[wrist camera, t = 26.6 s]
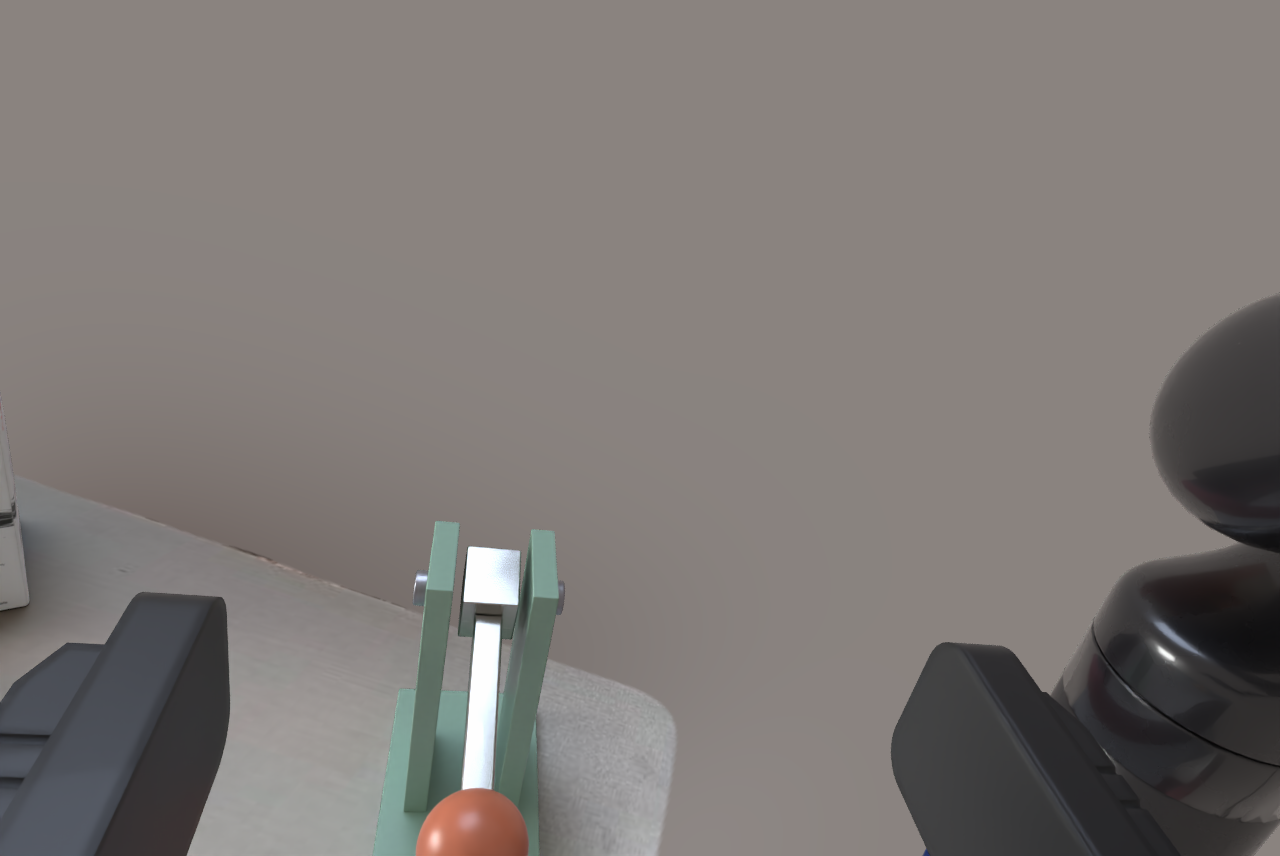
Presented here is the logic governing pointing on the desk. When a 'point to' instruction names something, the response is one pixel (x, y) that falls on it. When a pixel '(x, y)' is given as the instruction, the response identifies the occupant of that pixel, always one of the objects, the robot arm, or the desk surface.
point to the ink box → (10, 532)
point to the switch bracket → (437, 718)
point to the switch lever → (481, 719)
